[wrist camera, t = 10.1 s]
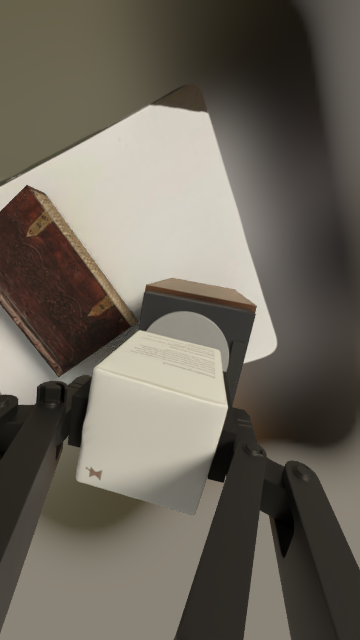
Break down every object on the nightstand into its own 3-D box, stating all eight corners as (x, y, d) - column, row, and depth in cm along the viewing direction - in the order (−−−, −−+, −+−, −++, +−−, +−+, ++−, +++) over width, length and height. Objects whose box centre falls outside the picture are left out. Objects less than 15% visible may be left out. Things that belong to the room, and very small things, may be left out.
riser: (234, 289, 45) (257, 305, 25) (221, 349, 47) (231, 406, 28) (171, 277, 46) (146, 284, 26) (161, 337, 48) (131, 384, 29)
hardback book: (-19, 254, 49) (-45, 253, 44) (46, 194, 45) (26, 184, 40) (70, 368, 52) (56, 378, 47) (138, 321, 48) (131, 326, 43)
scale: (251, 309, 25) (257, 315, 22) (228, 401, 28) (230, 417, 25) (149, 290, 26) (142, 292, 23) (136, 381, 29) (127, 394, 26)
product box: (199, 423, 18) (194, 522, 11) (123, 401, 19) (70, 483, 11) (221, 348, 17) (231, 406, 10) (138, 326, 17) (88, 367, 10)
